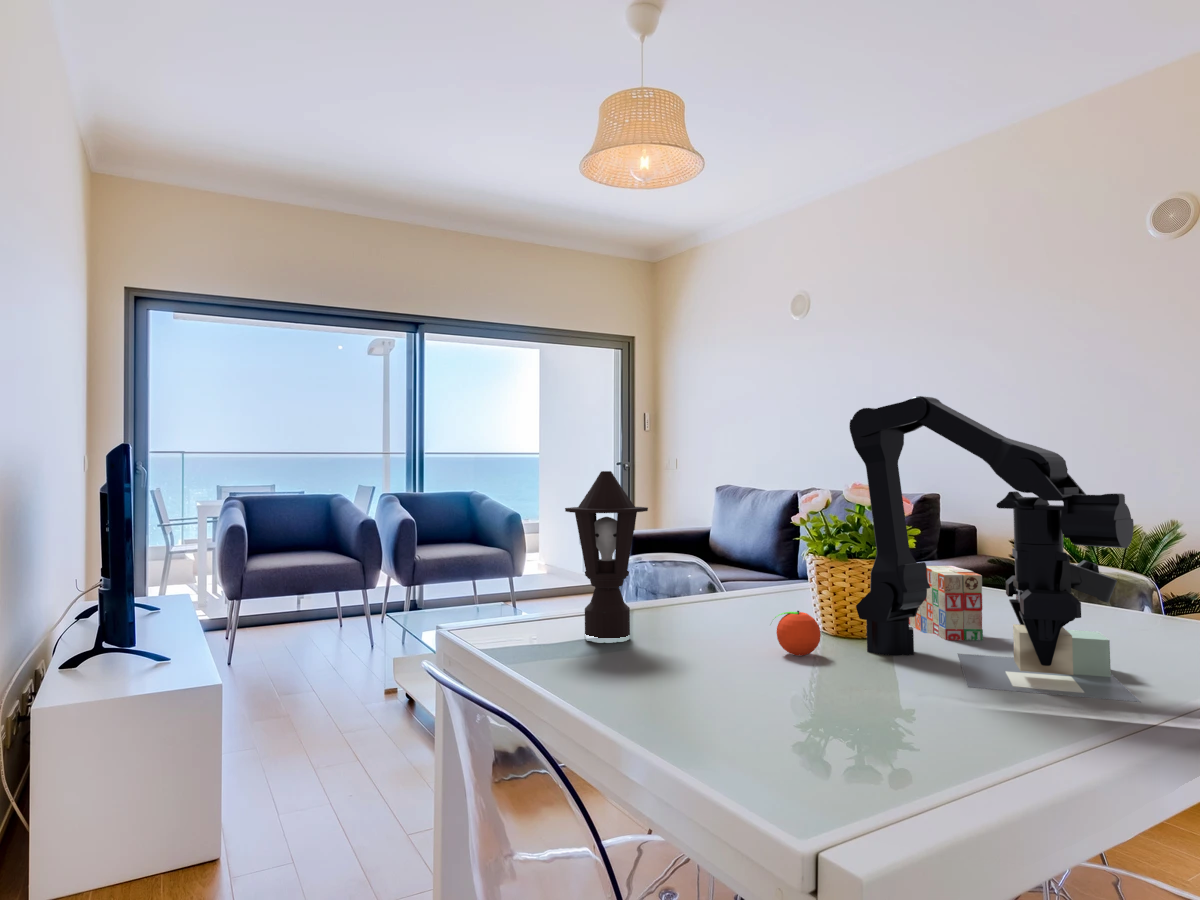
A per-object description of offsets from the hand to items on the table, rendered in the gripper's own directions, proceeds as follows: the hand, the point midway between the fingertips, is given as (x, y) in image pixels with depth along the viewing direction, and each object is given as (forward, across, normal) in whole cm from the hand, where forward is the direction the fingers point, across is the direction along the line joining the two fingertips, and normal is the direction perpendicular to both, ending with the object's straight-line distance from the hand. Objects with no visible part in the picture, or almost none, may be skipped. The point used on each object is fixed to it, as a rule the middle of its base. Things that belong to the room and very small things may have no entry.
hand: (1041, 659), depth 101 cm
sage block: (+3, +9, -6) cm, 11 cm away
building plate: (+4, +4, 0) cm, 6 cm away
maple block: (+1, 0, 0) cm, 1 cm away
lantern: (+4, +10, +66) cm, 67 cm away
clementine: (+4, +9, +34) cm, 35 cm away
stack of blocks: (+4, +35, +11) cm, 37 cm away
